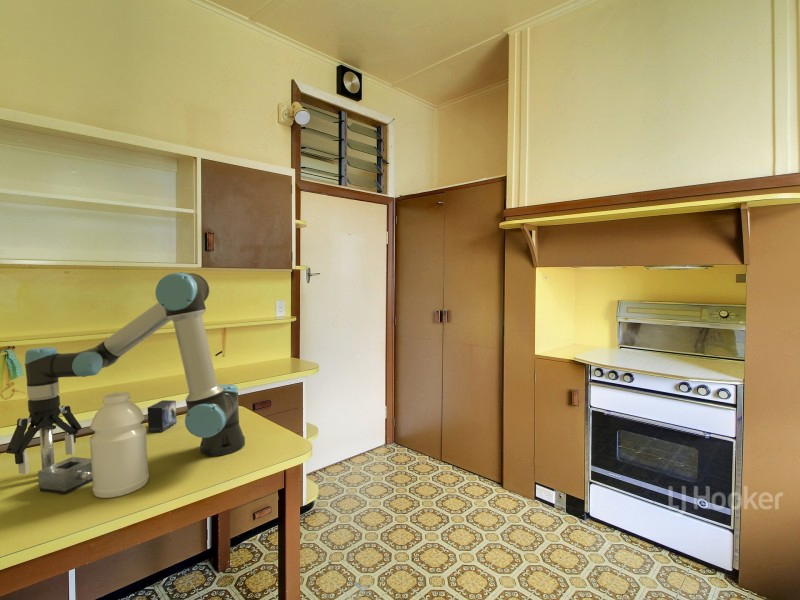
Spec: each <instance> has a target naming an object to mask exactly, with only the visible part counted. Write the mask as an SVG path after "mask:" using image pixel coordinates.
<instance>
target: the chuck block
mask: <svg viewBox="0 0 800 600" xmlns="http://www.w3.org/2000/svg"><path fill="white" fill-rule="evenodd" d="M37 476H38V479H37V480H38V491H39V492H42V493H43V492H44V493H51V494H58V495H68V494H69V493H72V492H74V491H76V490H77V489H80V488H81V487H84V486H85V485H88V484H89V483H91V482H93V480H92V465H91V458H87V457H81V456H80V457H79V456H71V457H68V458H66V459H64V460H61V461H60V462H59V461H58V462H57V463H55V464H54V465H52V466H49V467H47V468H45V469H42V468H41V469H40V470H38V471H37Z"/></svg>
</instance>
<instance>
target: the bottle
mask: <svg viewBox="0 0 800 600" xmlns="http://www.w3.org/2000/svg"><path fill="white" fill-rule="evenodd" d="M102 403H103V405H102V406H100V408H99V409H98V410H97V411H96V413H95V415H94V417H93V418H92V421H91V424H90V425H89V426H90V427H89V429H90V430H92V431H93V432H94V433H93V434H92V435H91V436H90V438H89V447H90V459H91V465H92V480H93V481H92V493H93V495H94V497H96V498H99V499H107V498H108V499H109V498H112V499H113V498H116V497H122V496H125V495H128V494H131V493H133V492H135V491H137V490H139V489H141V488H143V487H144V486H145V485H146V484H147V483H148V481H149V476H150V474H149V469H148V468H149V465H148V447H147V427H146V426H144V424H142V422H143V421H144V420H145V414H144V413H143V411H142V410H141V408H140V406H138V405H137V404H136V403H134V402H133V401H131V393H130V392H127V391H126V392H125V391H123V392H121V391H120V392H115V393H109V394H106V395H105V396H103V397H102Z"/></svg>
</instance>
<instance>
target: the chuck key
mask: <svg viewBox="0 0 800 600" xmlns="http://www.w3.org/2000/svg"><path fill="white" fill-rule="evenodd" d="M55 429H57V425H55V424H53V425H48V426H46V427H44V428H41V429H40V430H39V442H40V444H39V445H40V454H41V455H40V456H41V470H42V469H45V468H47V467H49V466H52V465H54V464H56V463H55V451H54V438H53V437H54V432H53V430H55Z"/></svg>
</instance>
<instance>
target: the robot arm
mask: <svg viewBox="0 0 800 600" xmlns="http://www.w3.org/2000/svg"><path fill="white" fill-rule="evenodd" d="M209 294H210V286H209V283H208V281H207V280H206V279H205V278H204V277H203V276H201V275H200V274H197V273H194V272H192V273H191V272H189V273H188V272H183V271H179V272H174V273H173V272H172V273H169V274H167V275H164V276H163V277H162V278H161V279H160V280H159V281H158V282H157V284H156V287H155V294H154V295H155V298H156V301H157V303H155V304H154V305H153V306H151V307H150V308H148V309H147V310H145V311H144V312H143V313H140V315H138V316H136V318H134V319H133V320H131V321H130V322H128V323H127V324H126V325H124V326H123V327H122V328H120V329H118V330H117V331H116V332H114V333H113V334H111V335H110V336H108V338H106V339H105V340H104V341H102V342H100V343H98V344H97V345H96V346H94V347H93V348H88V349H85V350H81V351H77V352H70V353H69V352H67V353H59V352H58V351H57V348H56V347H54V346H45V347H43V346H42V347H34V348H30V349H27V350H26V351H25V353H24V354H25V355H24V367H25V376H26V392H27V398H28V400H27V411H28V413H29V415H28V417H26V418H21V417H20V418H18V419H17V420H16V428H15V429H14V432H13V434H12V437H11V439H10V441H9V443H8V446H7V448H6V450H5V453H6V454H12V455H14V461H15V464H16V465H18V467H17V468H18V474H20V475H21V474H23V475H28V474H29V463H28V462H29V461H28V451H25V450H26V448H27V447H28V446H29V444H30V443H31V441H32V440H33V439H34V437H35V435H36V434H37V432H40V429H41V428H44V427H46V426H48V425H56V427H58V428H60V429H61V430H63V431H64V432H66V434H64V443H65V445H64V446H65V455H71V456H72V455H75V443H76V439H77V438H76V435H77V434H78V433H79V431H80V430H82V428H83V427H82V425H81V424H80V422H79V421H78V420H77V418H76V416H75V415H74V414H73V413H72V409H71V406H69V405H61V400H60V395H59V394H60V392H61V391H60V383H59V382H60V381H59V378H74V377H76V378H77V377H81V378H84V377H85V378H86V377H92V376H96V375H98V374H99V373H100V371H102V369H104V368H108V367H110V366H112V365H114V364H115V363H116V362H118V360H119V358H121V357H122V356H124V355H125V354H126V353H127V352H129V351H130V350H132V349H133V348H135V347H136V346H138V345H139V344H140V343H142V342H143V341H145V340H146V339H147V338H149V337H150V336H152V335H153V334H154V333H156V332H157V331H159V330H160V329H161V328H163V327H164V326H165V325H167V324H168V323H170V322H171V321H172V323H173V327H174V331H175V335H176V339H177V344H178V348H179V352H180V358H181V363H182V366H183V371H184V375H185V381H186V384H187V389H188V395H186V397H185V403H186V407H187V413H186V414H185V418H184V424H185V428H186V430H187V431H188V432H189V433H190V435H193V436H195V437H196V438H201V441H200V445H199V447H200V448H199V451H200V454H202V455H204V456H210V457H215V456H224V455H229V454H232V453H234V452H237V451H240V450H242V449H243V447H245V445H246V440H245V439H246V438H245V435H244V433H243V431H242V428H241V425H240V416H239V415H240V412H239V389H238V386H237V385H235V384H218V381H217V377H216V372H215V368H214V363H213V359H212V355H211V350H210V345H209V341H208V337H207V332H206V327H205V323H204V319H203V315H204V314H205V312H206V311H207V309H206V303H205V302H206V300H207V299H208V297H209V296H210V295H209ZM60 415H62V416H63V418H64V419H65V421H66V422H67V423H66V422H65V421H64V420H63V419H62V418H61V417H60Z"/></svg>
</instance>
